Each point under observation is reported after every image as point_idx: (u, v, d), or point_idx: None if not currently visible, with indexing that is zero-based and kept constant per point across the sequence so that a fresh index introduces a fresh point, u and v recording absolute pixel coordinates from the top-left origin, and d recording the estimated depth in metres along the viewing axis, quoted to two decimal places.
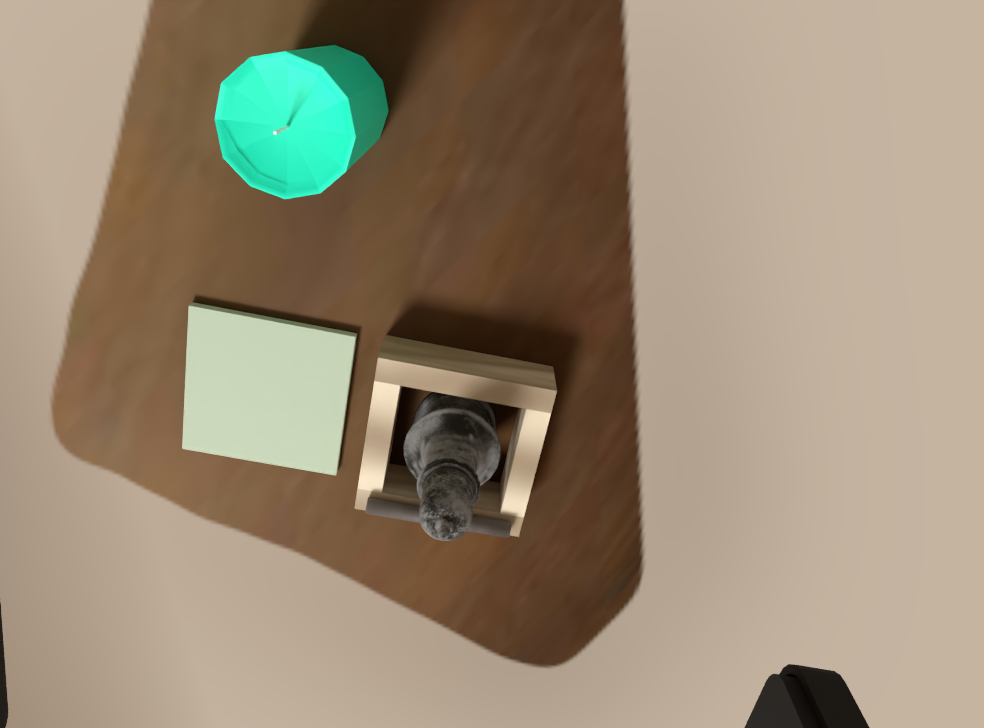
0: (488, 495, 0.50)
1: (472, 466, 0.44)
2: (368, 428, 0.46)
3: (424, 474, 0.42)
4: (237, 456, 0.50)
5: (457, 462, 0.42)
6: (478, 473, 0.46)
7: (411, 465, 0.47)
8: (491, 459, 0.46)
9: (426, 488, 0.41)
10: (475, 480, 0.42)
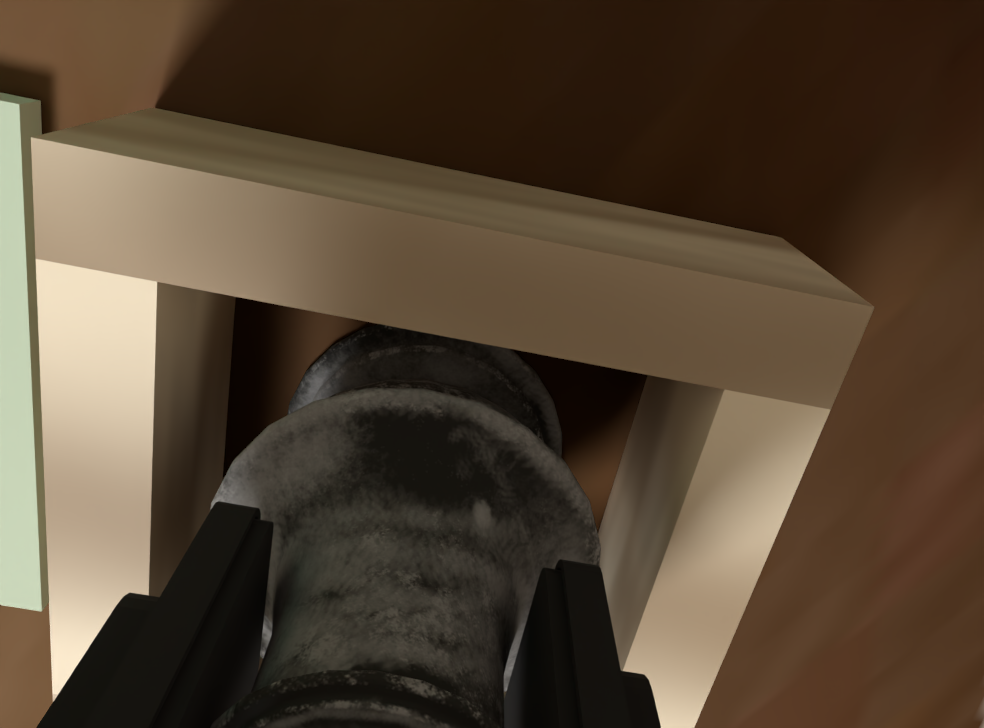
0: None
1: (491, 676, 0.09)
2: (50, 472, 0.11)
3: None
4: None
5: (407, 695, 0.07)
6: (510, 654, 0.11)
7: None
8: None
9: None
10: None
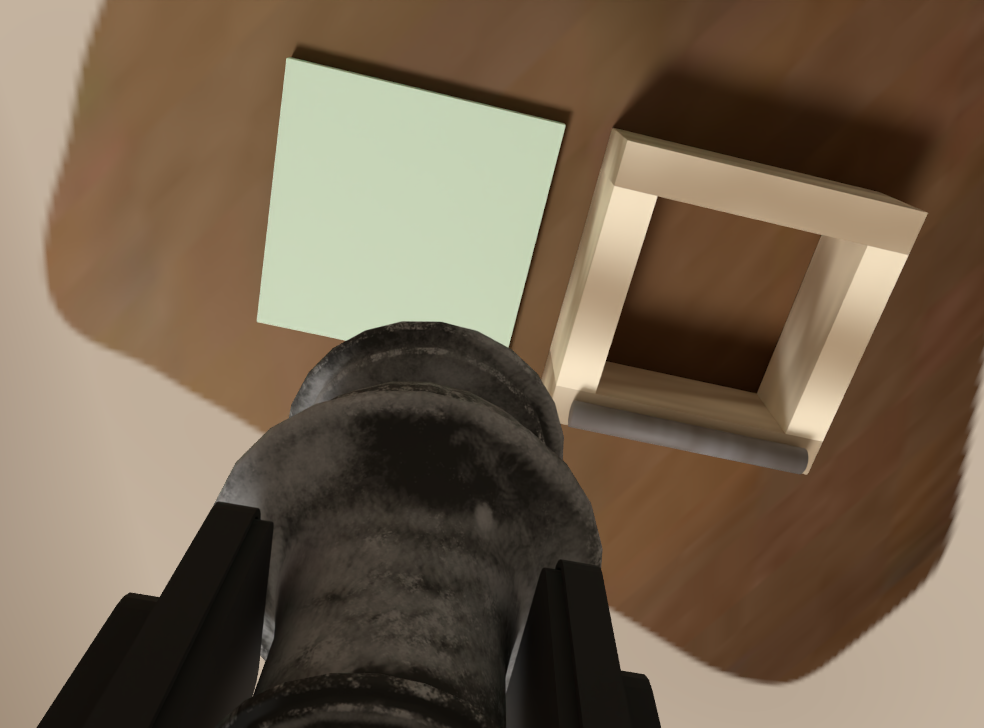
0: (752, 408, 0.31)
1: (492, 678, 0.09)
2: (590, 276, 0.27)
3: None
4: (345, 337, 0.31)
5: (410, 697, 0.07)
6: (512, 656, 0.11)
7: None
8: None
9: None
10: None
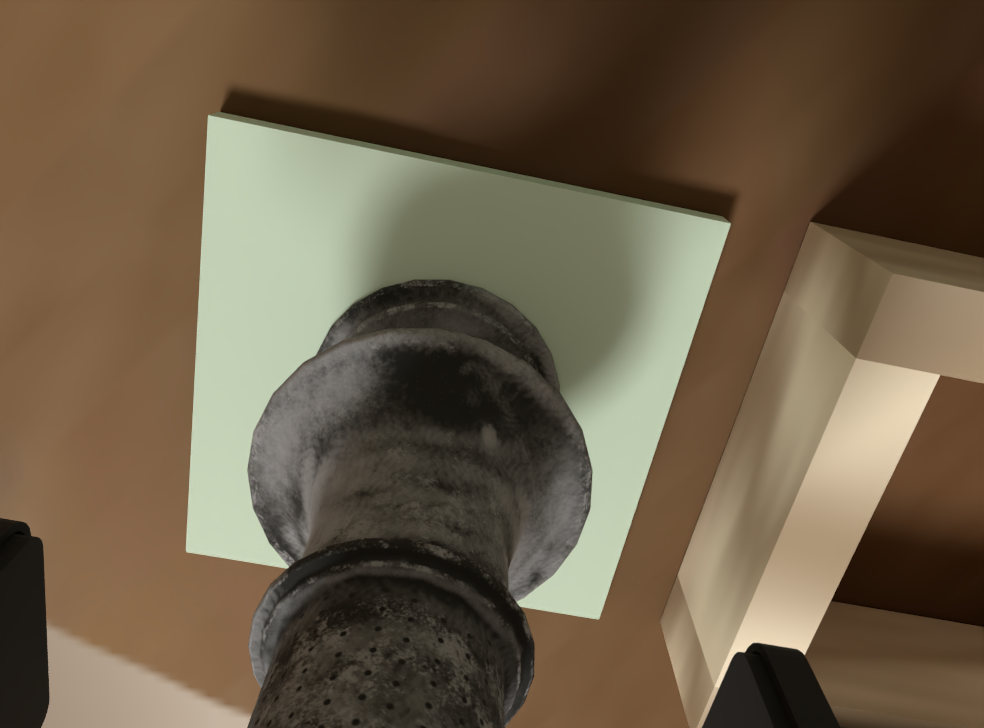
0: None
1: (497, 560, 0.10)
2: (792, 515, 0.14)
3: (277, 611, 0.09)
4: None
5: (430, 557, 0.09)
6: (514, 565, 0.13)
7: (280, 536, 0.13)
8: (559, 517, 0.13)
9: (262, 708, 0.08)
10: (514, 636, 0.09)
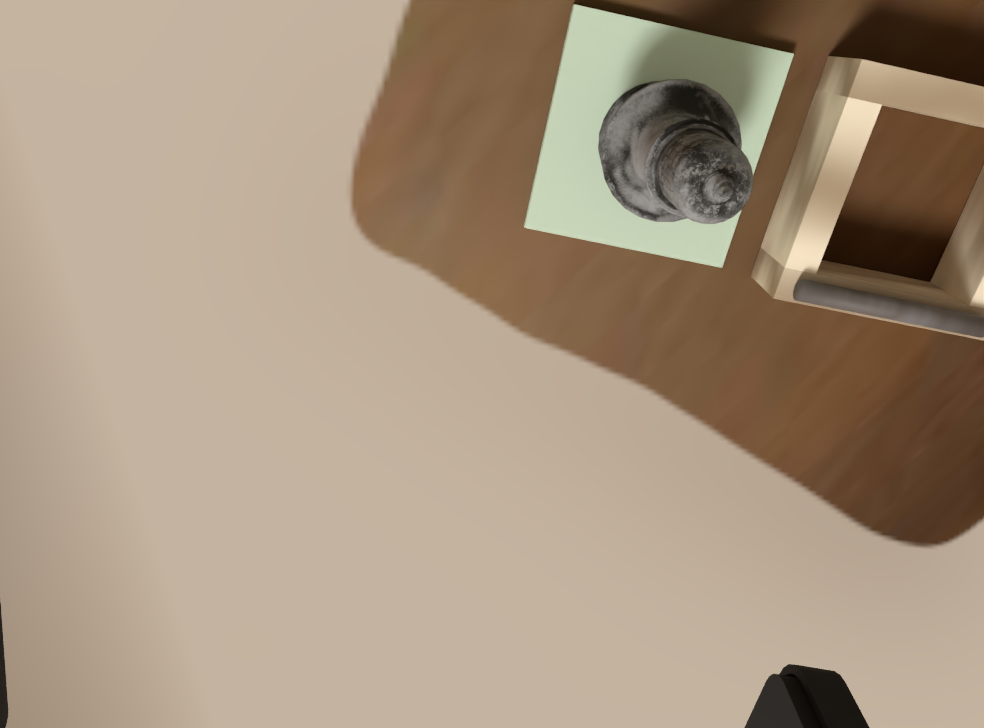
0: (934, 290, 0.37)
1: None
2: (821, 173, 0.33)
3: (660, 144, 0.28)
4: (596, 239, 0.37)
5: (711, 124, 0.28)
6: None
7: (612, 174, 0.32)
8: None
9: (675, 149, 0.27)
10: None
